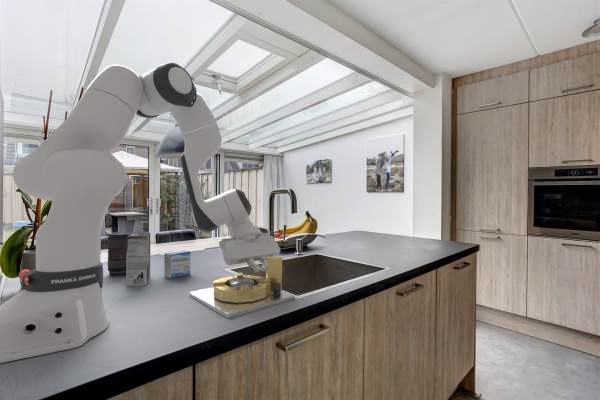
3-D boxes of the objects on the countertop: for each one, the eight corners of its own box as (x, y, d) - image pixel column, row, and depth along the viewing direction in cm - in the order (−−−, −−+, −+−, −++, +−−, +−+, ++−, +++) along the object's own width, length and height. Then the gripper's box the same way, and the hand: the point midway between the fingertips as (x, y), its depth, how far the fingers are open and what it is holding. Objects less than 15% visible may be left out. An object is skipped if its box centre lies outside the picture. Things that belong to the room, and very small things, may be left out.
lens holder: (202, 299, 83) (203, 262, 83) (228, 282, 99) (229, 252, 99) (267, 305, 79) (268, 267, 79) (284, 287, 95) (285, 255, 95)
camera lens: (137, 271, 116) (138, 232, 115) (123, 277, 108) (123, 235, 107) (117, 271, 116) (117, 231, 116) (101, 276, 108) (102, 234, 108)
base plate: (227, 318, 74) (227, 300, 74) (189, 295, 90) (189, 280, 90) (294, 298, 89) (295, 283, 89) (251, 281, 105) (251, 268, 105)
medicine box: (170, 279, 107) (170, 254, 107) (163, 276, 110) (164, 252, 109) (190, 274, 113) (190, 251, 113) (183, 272, 116) (184, 249, 116)
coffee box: (130, 279, 106) (130, 232, 105) (150, 277, 108) (151, 232, 108) (125, 287, 97) (125, 236, 97) (147, 285, 99) (148, 235, 99)
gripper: (220, 233, 96) (236, 270, 89) (272, 229, 110) (290, 260, 103) (213, 245, 99) (228, 282, 92) (265, 239, 113) (281, 271, 106)
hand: (261, 270), depth 97 cm, fingers closed
